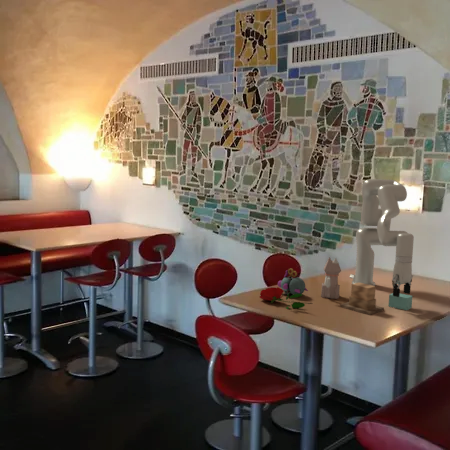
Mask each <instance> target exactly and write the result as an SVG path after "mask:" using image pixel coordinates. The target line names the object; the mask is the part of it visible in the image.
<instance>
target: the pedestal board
mask: <svg viewBox="0 0 450 450" xmlns="http://www.w3.org/2000/svg"><path fill="white" fill-rule="evenodd" d="M376 303H377V298H375V299H372V300H369V301H366V300H362V299H358V298H354V297H351V295H350V296H349V298H348V301H347V302H344V303H340V308H343V309H346V310H350V311H353V310H354V312H357V311H358V313H362V314H364V315H367V316H368V315H369V316H370V315H374V314H377V313H379V311H380V312H382V310H383V311H384V310H385V307H383V306H379V305H376Z"/></svg>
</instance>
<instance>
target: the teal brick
mask: <svg viewBox="0 0 450 450" xmlns="http://www.w3.org/2000/svg"><path fill="white" fill-rule="evenodd" d="M388 306H389V308H393V307H394V308H393V309H398V310H402V309H403V310H402V311H408V310H410V309H412V308H413V295H410V294H407V293H400V296H399V297H396V296H393V292H392V293H389V294H388Z"/></svg>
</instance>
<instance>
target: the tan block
mask: <svg viewBox="0 0 450 450" xmlns="http://www.w3.org/2000/svg"><path fill="white" fill-rule="evenodd" d="M350 288H351V291H350V296H351V297H354V298H358V299H362V300H366V301H369V300H372V299H376V285H375V286H372V285H368V284H364V283H355V284H352V283H351V287H350Z"/></svg>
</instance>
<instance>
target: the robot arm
mask: <svg viewBox="0 0 450 450" xmlns="http://www.w3.org/2000/svg"><path fill="white" fill-rule="evenodd" d="M361 185H362V186H361V196H362V205H361V215H360V222H361V224H362V225H363V226H366V227H362V228H359V229H357V230H356V233H355V240H356V261H355V273H354V274H353V273H352V274H351V273H350V275H349V279H352V281H351V285H352V284H355V283H364V284H368V285H372V286H376V282H374V281H373V278H374V265H375V251H374V250H373V248H372V247H371V246H384V247H395V260H394V264H393V266H394V267H393V271H392V279H391V283H392V284H391V285H392V293H393V296H396V297H399V296H400V294H401V288H400V287H401V285H403V294H406V295H410V294H411V287H412V282H413V277H414V275H413V270H412V268H413V265H412V263H413V253H414V252H413V251H414V235H413V234H412V233H410V232H409V233H408V232H407V231H405V230H391V222H392V219H394V218H396V217H397V216H398V215H400V212H401V210H400V207H399V203H398V202H405V201H406V200H407V196H408V192H407V191H408V190H407V189H406V187H405V186H404V185H403V184H402V183H400V182H399V181H397V180H394V179H380V178H371V179H366V180H364V181H363V182H362V183H361ZM379 205H380V208H379Z"/></svg>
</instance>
